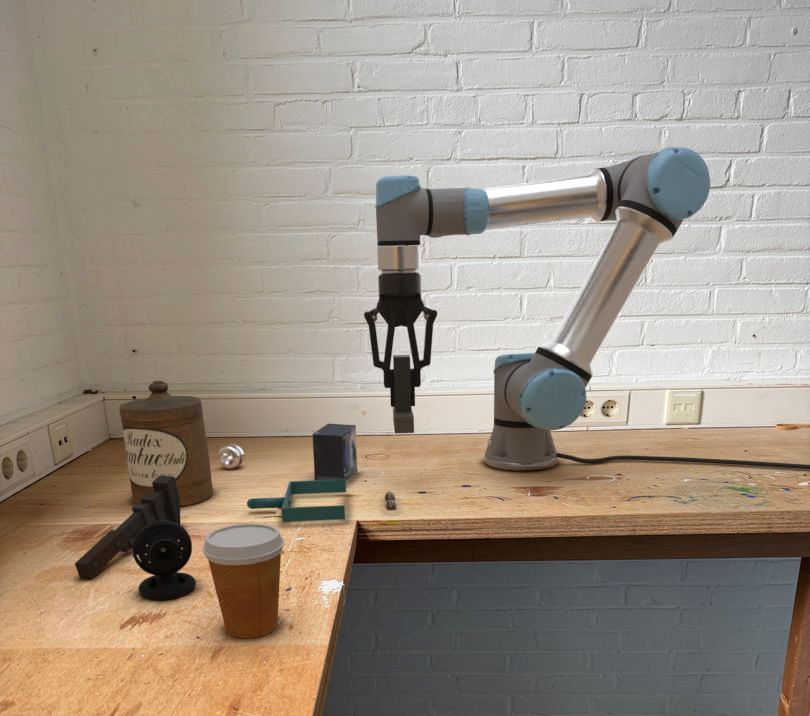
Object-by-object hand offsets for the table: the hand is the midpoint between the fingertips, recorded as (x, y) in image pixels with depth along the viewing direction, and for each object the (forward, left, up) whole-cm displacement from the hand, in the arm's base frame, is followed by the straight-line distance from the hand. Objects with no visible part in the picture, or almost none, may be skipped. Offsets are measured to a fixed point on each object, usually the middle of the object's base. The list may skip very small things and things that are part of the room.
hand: (402, 404), depth 148 cm
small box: (+13, -9, -16) cm, 23 cm away
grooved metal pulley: (+36, -22, -16) cm, 45 cm away
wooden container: (+44, -1, -16) cm, 47 cm away
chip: (+3, +9, -15) cm, 18 cm away
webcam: (+35, +45, -16) cm, 60 cm away
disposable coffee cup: (+22, +58, -16) cm, 65 cm away
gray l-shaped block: (0, 0, -4) cm, 4 cm away
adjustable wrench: (+44, +28, -16) cm, 55 cm away
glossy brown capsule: (+3, +14, -15) cm, 21 cm away
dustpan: (+20, +11, -16) cm, 28 cm away
